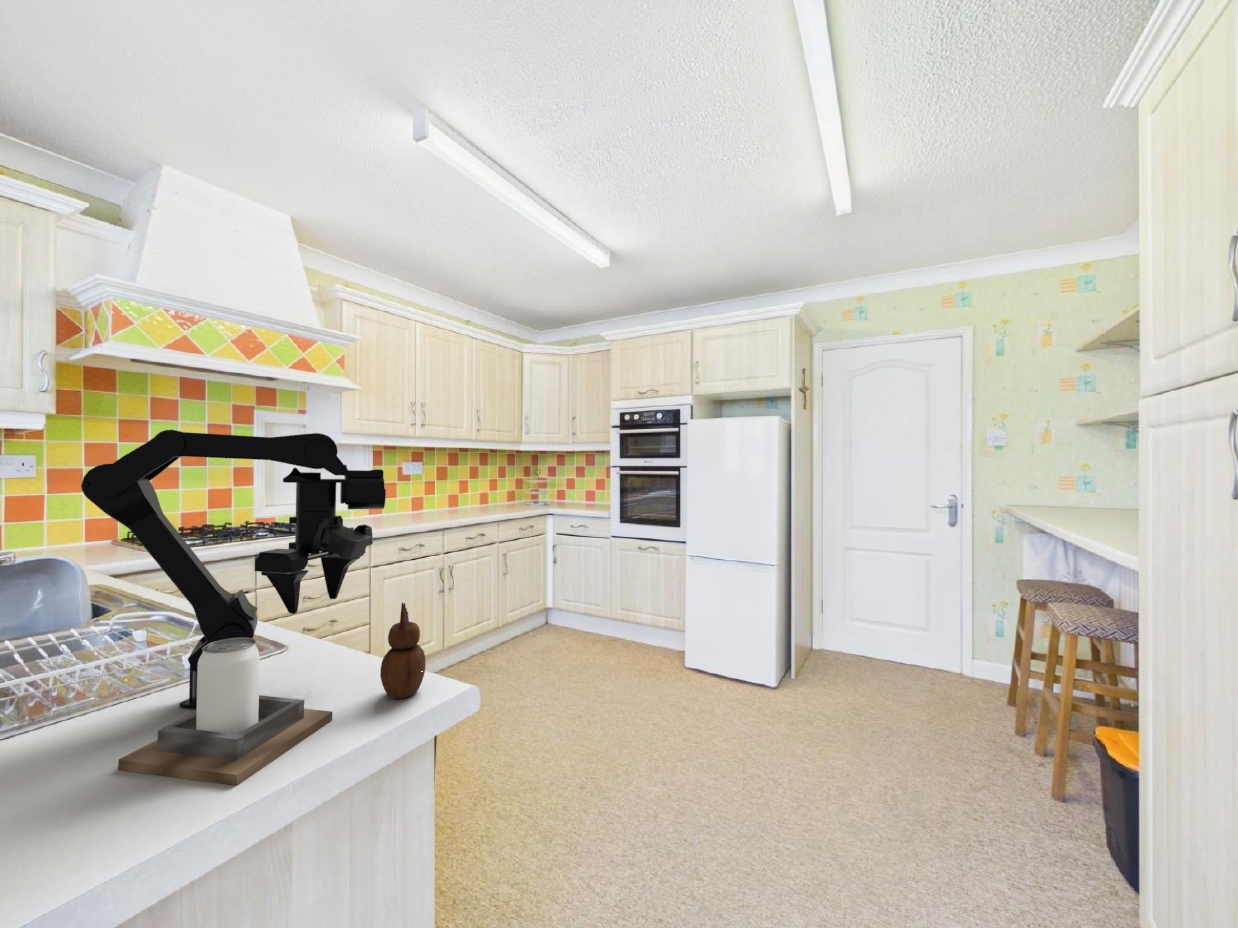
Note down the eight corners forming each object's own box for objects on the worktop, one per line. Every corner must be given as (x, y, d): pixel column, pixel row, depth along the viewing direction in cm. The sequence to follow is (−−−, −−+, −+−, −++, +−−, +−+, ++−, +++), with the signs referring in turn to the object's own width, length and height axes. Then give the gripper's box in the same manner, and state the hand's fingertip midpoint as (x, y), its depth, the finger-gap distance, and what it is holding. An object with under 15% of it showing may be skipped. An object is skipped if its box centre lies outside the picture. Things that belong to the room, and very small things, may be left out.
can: (270, 729, 72) (272, 639, 72) (223, 754, 66) (225, 655, 66) (232, 722, 74) (233, 634, 74) (182, 746, 68) (184, 649, 68)
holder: (118, 769, 64) (118, 738, 64) (233, 709, 80) (234, 684, 80) (237, 785, 62) (237, 752, 62) (332, 719, 78) (332, 693, 78)
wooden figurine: (407, 705, 83) (409, 606, 83) (373, 700, 84) (375, 603, 84) (431, 687, 90) (433, 595, 90) (399, 683, 91) (401, 593, 91)
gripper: (320, 517, 79) (318, 626, 79) (393, 507, 97) (392, 595, 97) (252, 514, 80) (250, 620, 81) (337, 505, 99) (335, 591, 99)
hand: (314, 605), depth 89 cm, fingers open, 9 cm apart
